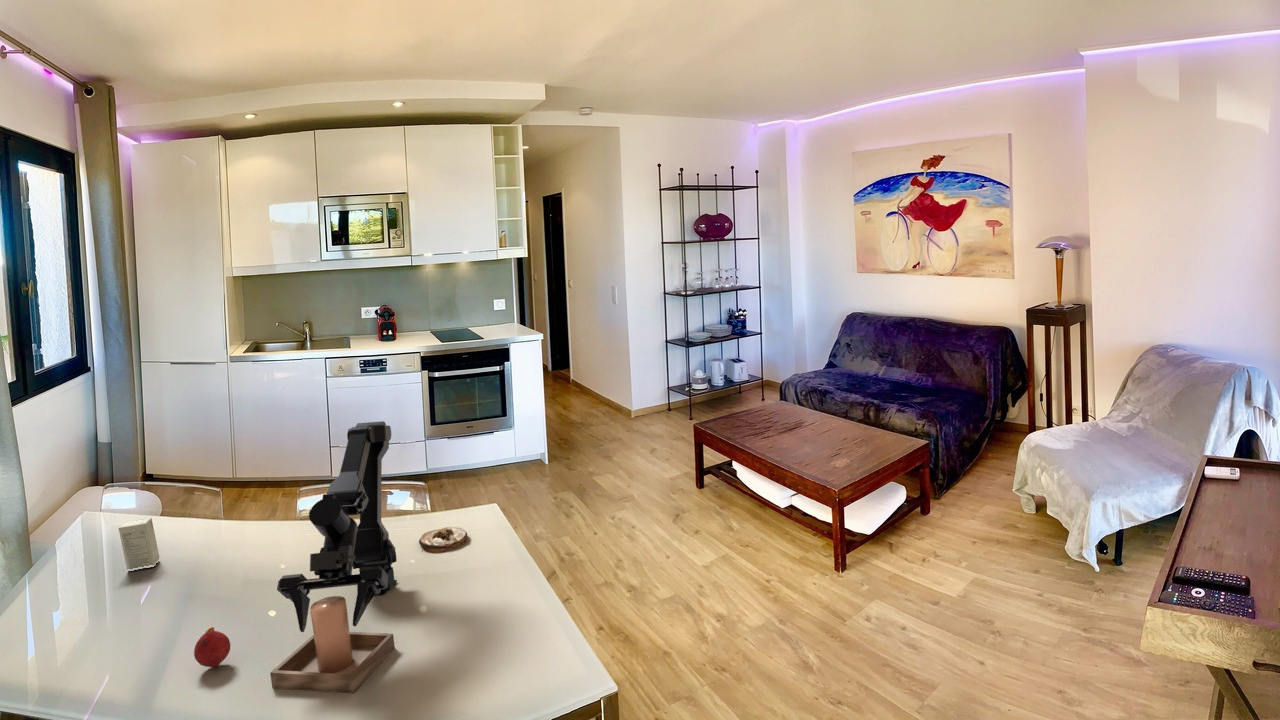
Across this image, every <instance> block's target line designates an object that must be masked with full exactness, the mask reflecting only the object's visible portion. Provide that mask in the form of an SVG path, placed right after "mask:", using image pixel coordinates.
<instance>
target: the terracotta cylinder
mask: <svg viewBox="0 0 1280 720" xmlns="http://www.w3.org/2000/svg"><path fill="white" fill-rule="evenodd" d="M309 608H310V609H309V610H310V615H311V616H310V617H311V624H312V630H313V631H312V632H313V635H314V641H315V649H316V656H317V664H318V670H319V672H321V673H336V672H339V671H341V670H344V669H345V668H347V667H348V666H350V665H351V663H352V662H353V656H352V647H351V639H350V632H351V631H350V624H349V615H348V607H347V600H346V597H344V596H341V595H333V596H332V595H331V596H327V597H323V598H321V599H319V600H317V601H315V602H313V603H312V604H311V605H310V606H309Z"/></svg>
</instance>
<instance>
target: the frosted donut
mask: <svg viewBox="0 0 1280 720" xmlns="http://www.w3.org/2000/svg"><path fill="white" fill-rule="evenodd" d="M467 536H468V533H467V531H466V530H465V529H463V528H462V527H458V526H449V527H447V526H446V527H443V528H439V529H434V530H430V531H427V532H424V533H423V534H422V535H421V536H420V537H419V542H418V543H419V546H420V547H419V549H420V548H421V549H422V550H421V552H428V553H439V552H440V553H441V552H447V551H451V550H453V549H456V548H458V547H460V546H463V545H464V544H465V543H467V540H468V537H467ZM466 539H467V540H466ZM464 542H465V543H464ZM463 543H464V544H463ZM462 544H463V545H462ZM450 549H451V550H450Z"/></svg>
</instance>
